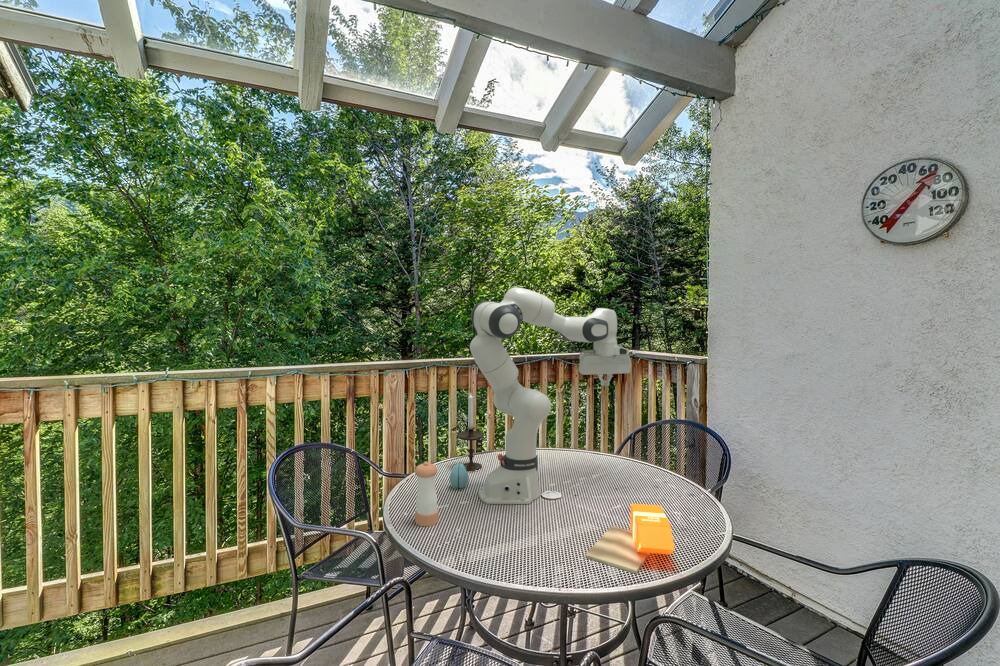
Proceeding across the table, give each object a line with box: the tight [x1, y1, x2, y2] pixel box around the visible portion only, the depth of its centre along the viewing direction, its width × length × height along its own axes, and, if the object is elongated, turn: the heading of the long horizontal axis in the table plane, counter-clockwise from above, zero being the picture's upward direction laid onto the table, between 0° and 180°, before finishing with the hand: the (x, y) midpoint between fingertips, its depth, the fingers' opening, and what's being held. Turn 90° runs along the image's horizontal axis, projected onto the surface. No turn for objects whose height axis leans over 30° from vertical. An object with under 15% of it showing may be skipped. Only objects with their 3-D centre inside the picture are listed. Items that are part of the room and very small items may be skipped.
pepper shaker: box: [414, 461, 439, 527], centre depth 149 cm, size 7×7×19 cm
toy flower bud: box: [449, 462, 470, 489], centre depth 179 cm, size 7×9×12 cm
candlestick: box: [457, 386, 485, 471], centre depth 197 cm, size 11×11×35 cm
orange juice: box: [629, 503, 676, 555], centre depth 132 cm, size 8×9×20 cm
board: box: [585, 525, 651, 575], centre depth 132 cm, size 20×14×1 cm
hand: (604, 385), depth 182 cm, fingers closed
